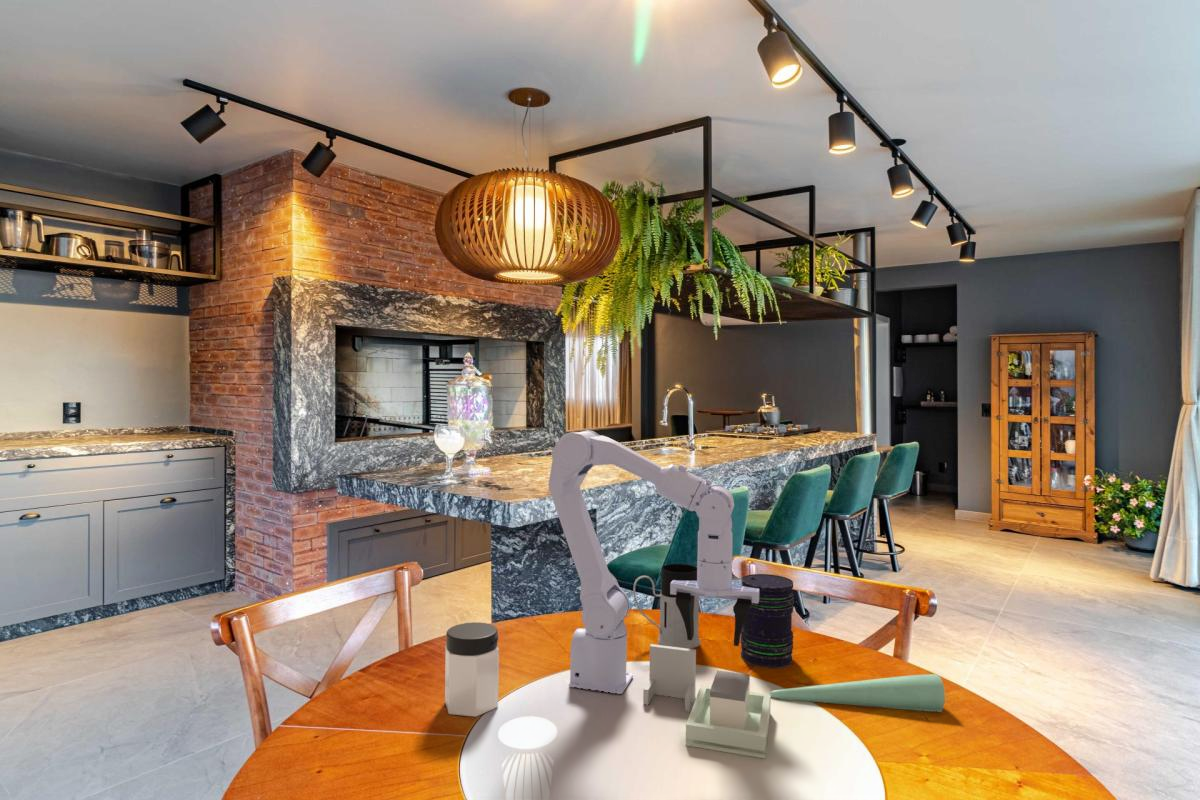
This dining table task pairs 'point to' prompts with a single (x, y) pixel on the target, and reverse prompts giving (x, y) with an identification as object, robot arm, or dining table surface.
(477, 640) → the jar
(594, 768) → the dining table surface
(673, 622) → the glass holder
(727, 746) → the tray
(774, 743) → the dining table surface
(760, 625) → the storage jar
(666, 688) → the dock
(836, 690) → the long green cone
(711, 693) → the tall grey beige-topped block
